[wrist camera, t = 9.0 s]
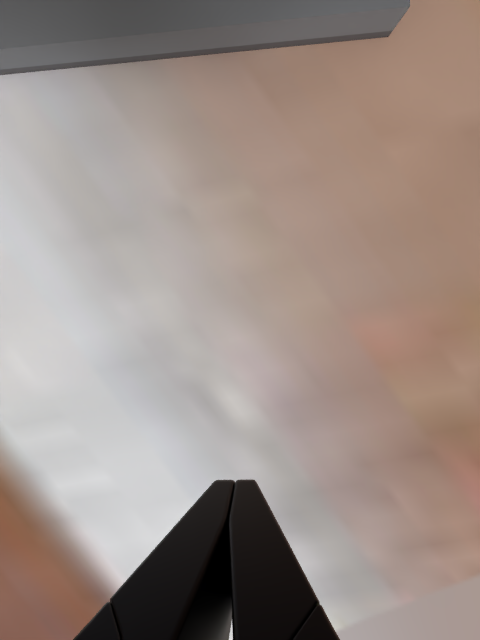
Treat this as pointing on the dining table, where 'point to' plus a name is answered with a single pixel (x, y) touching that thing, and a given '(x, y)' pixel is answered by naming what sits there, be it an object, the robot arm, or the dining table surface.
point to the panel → (176, 28)
